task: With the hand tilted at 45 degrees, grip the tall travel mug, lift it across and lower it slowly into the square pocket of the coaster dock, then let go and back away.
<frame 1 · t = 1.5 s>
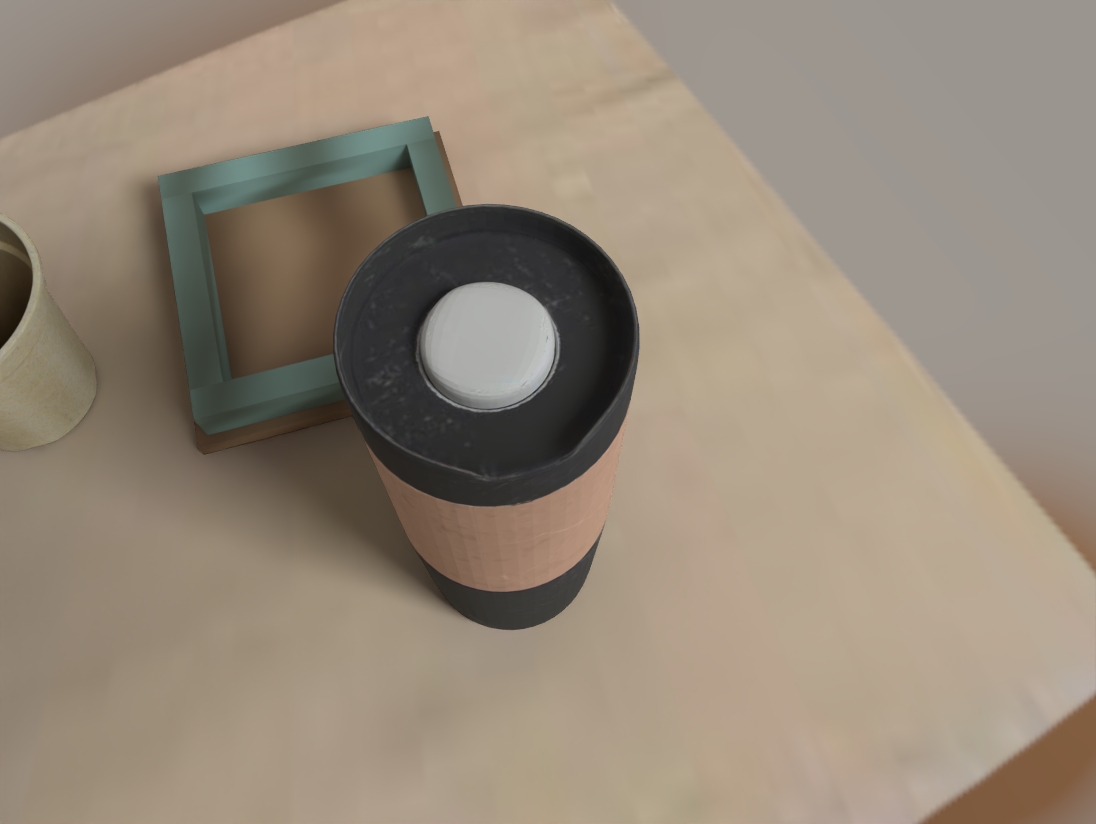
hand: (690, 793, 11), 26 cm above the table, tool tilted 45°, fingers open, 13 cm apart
coaster dock: (332, 284, 45), on the table
flower pot: (34, 395, 43), on the table
travel mug: (511, 551, 40), on the table
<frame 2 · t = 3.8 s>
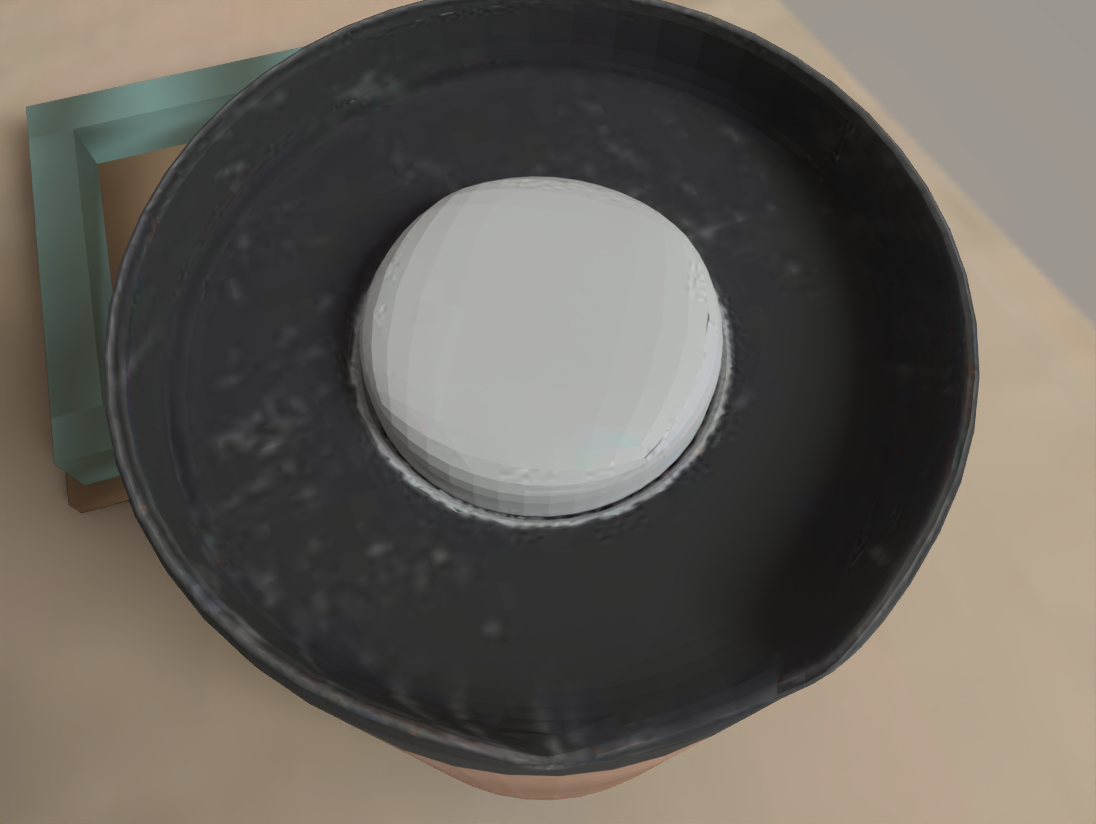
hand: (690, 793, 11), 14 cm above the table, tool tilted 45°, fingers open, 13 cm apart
coaster dock: (279, 260, 31), on the table
travel mug: (544, 661, 26), on the table
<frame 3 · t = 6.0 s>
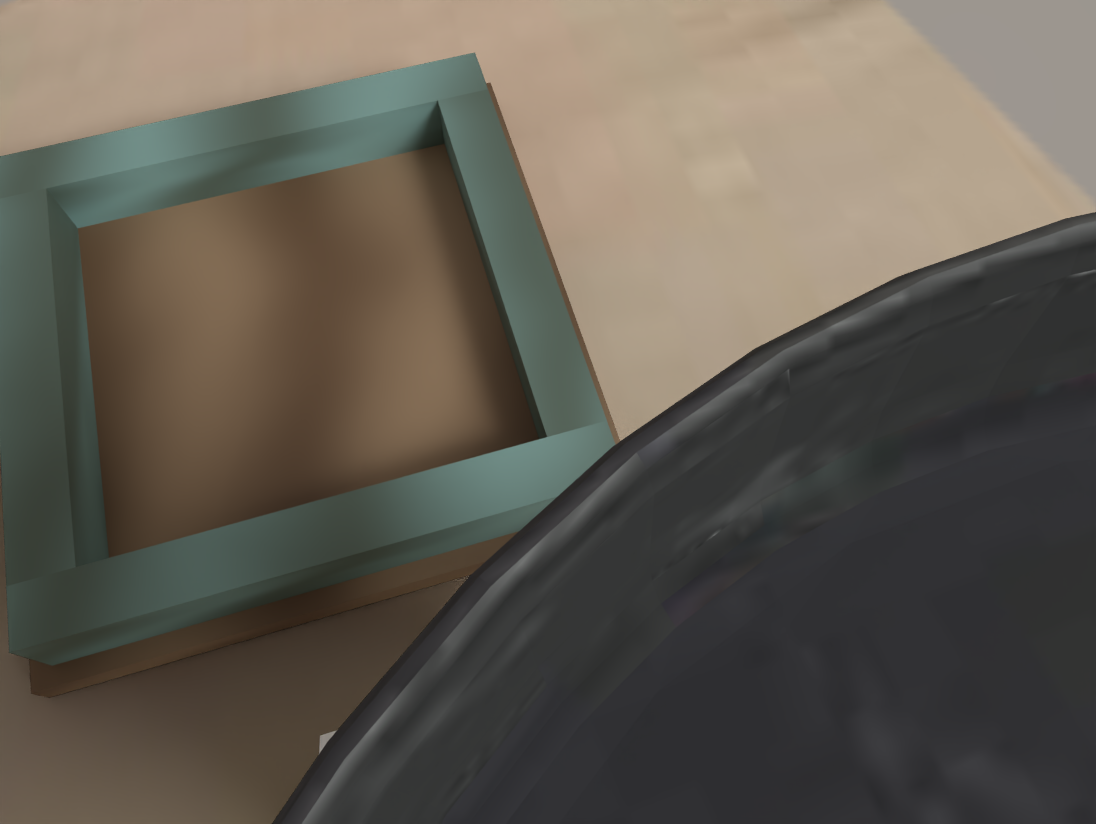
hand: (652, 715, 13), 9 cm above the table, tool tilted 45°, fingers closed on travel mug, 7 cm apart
coaster dock: (304, 352, 25), on the table
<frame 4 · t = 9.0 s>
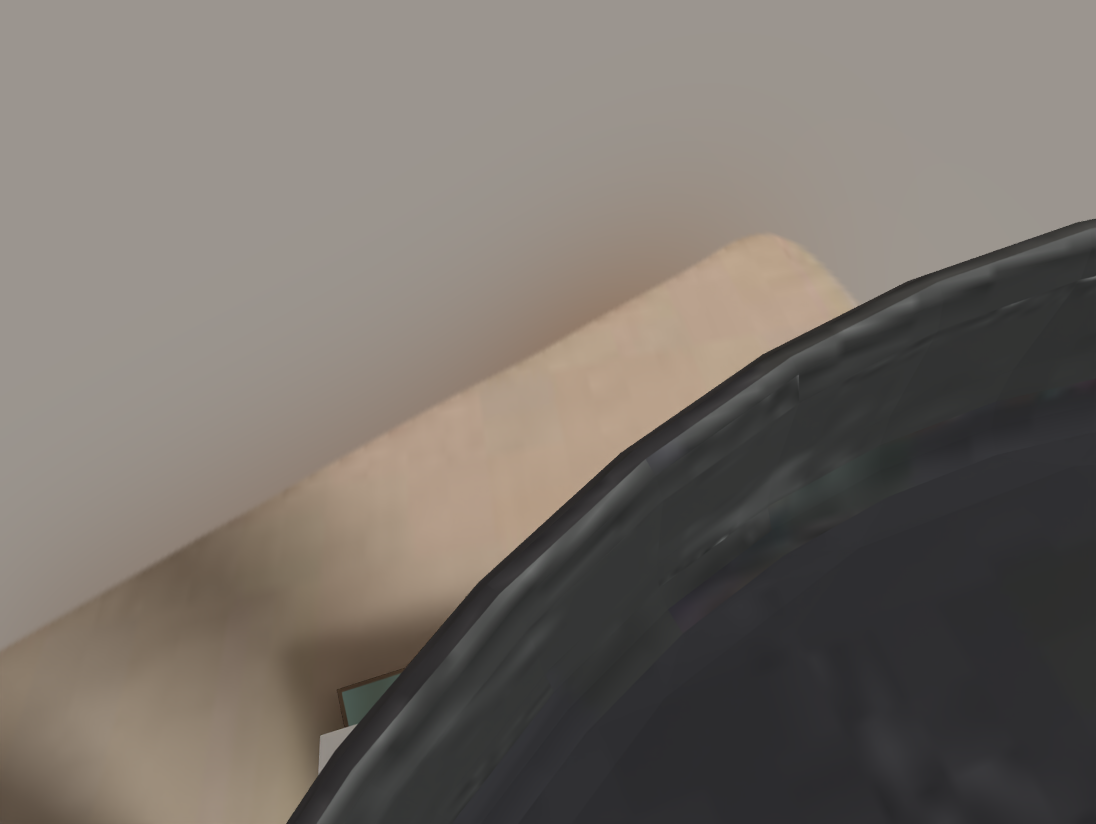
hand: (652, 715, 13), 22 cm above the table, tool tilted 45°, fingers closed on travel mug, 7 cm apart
when the fingers open (11 cm above the table, at t = 12.4 s): travel mug drops 1 cm, resting on coaster dock.
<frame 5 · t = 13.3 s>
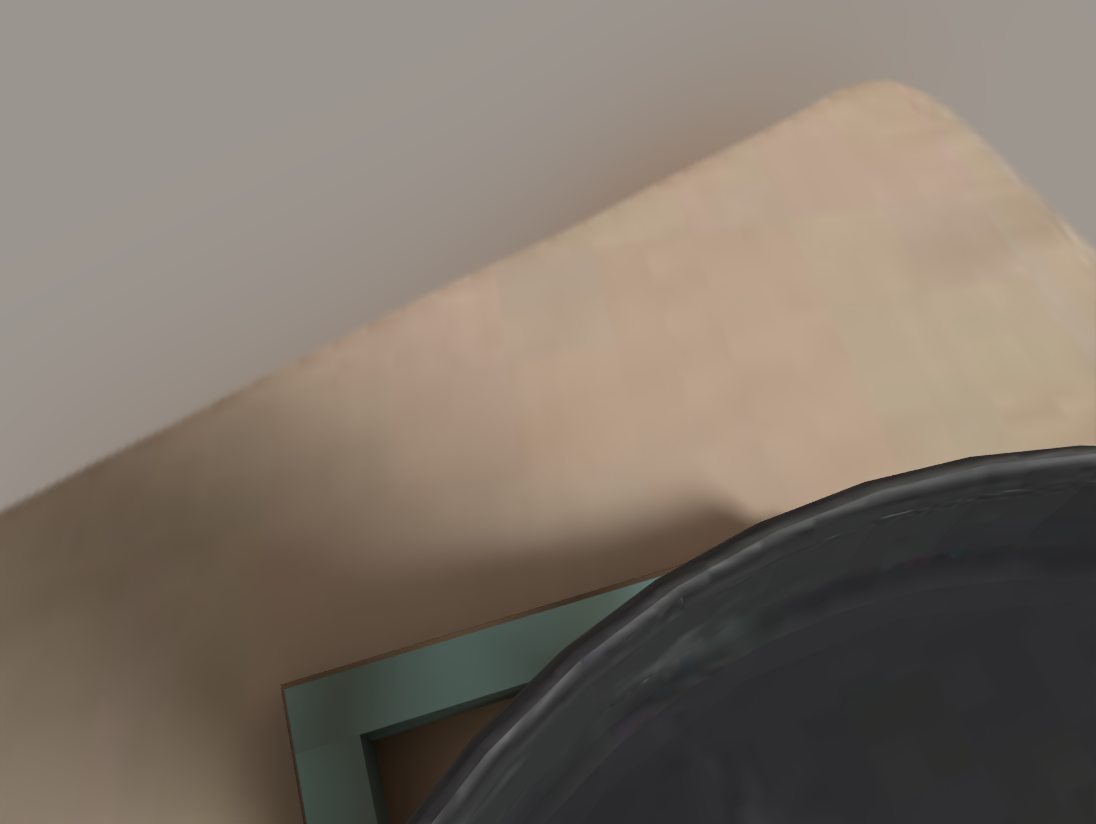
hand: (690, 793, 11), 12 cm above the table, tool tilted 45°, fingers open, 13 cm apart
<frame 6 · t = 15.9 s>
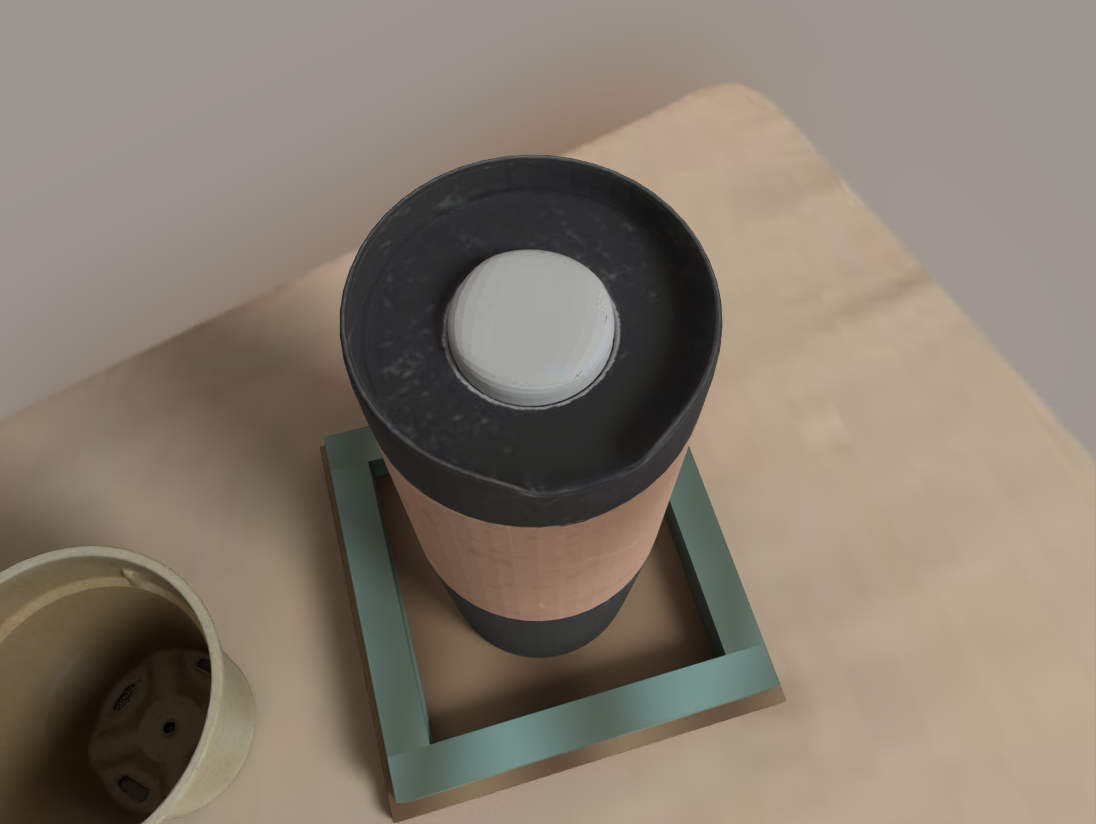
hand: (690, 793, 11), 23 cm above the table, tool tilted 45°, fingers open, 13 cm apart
coaster dock: (539, 571, 36), on the table
flower pot: (174, 729, 34), on the table
travel mug: (539, 569, 35), point 1 cm above the table, touching coaster dock
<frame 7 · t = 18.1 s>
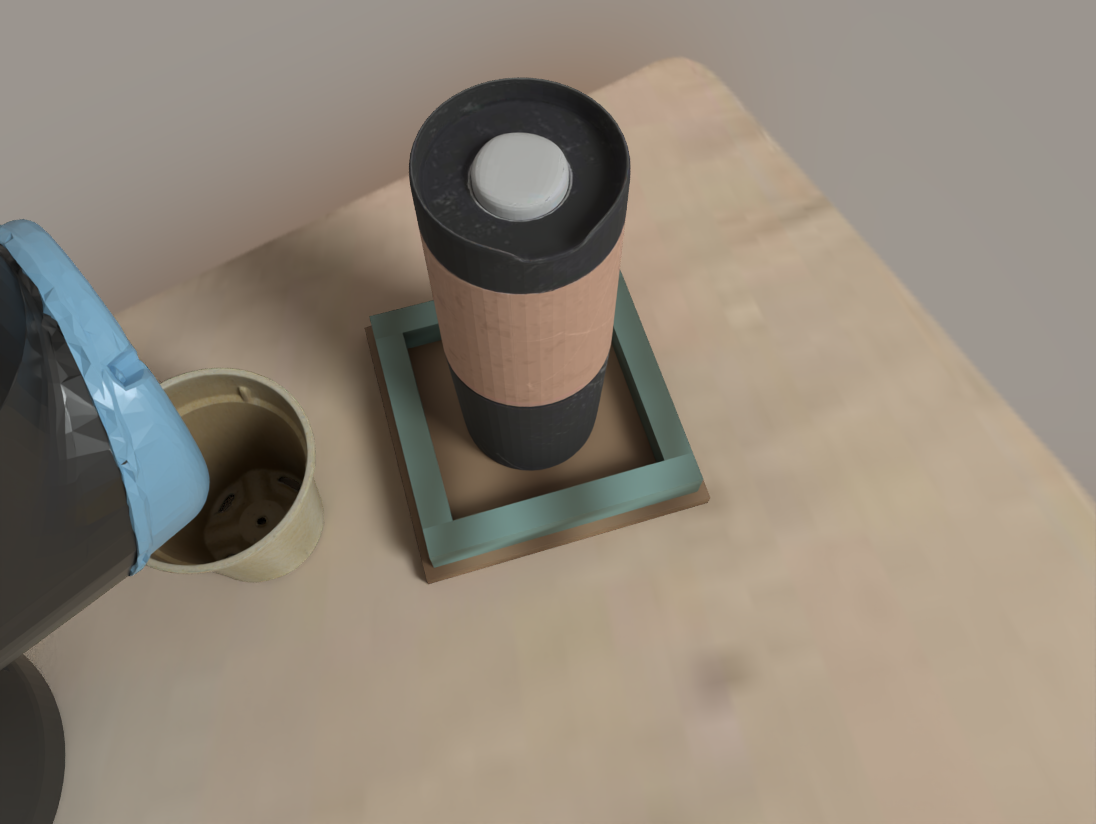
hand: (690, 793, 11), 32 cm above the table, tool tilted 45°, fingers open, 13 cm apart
coaster dock: (530, 415, 48), on the table
flower pot: (264, 525, 46), on the table
travel mug: (530, 411, 48), point 1 cm above the table, touching coaster dock
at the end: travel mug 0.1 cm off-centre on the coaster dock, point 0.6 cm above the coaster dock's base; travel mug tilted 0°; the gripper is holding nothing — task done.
